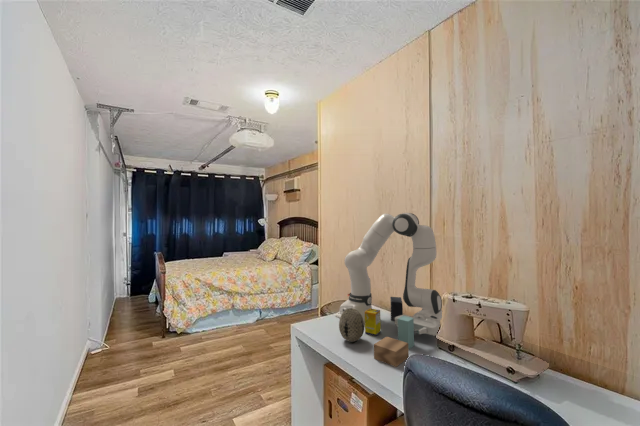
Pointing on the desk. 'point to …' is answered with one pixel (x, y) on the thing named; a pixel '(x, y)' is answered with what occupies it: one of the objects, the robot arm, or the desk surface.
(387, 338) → the walnut block
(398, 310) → the small box
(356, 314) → the decorative egg
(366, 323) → the supplement box
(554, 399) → the desk surface
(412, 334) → the teal block
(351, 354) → the desk surface
